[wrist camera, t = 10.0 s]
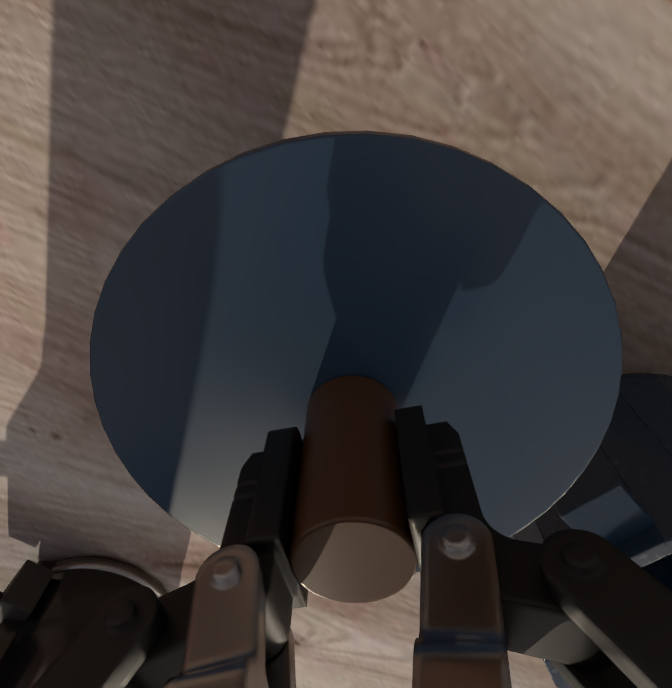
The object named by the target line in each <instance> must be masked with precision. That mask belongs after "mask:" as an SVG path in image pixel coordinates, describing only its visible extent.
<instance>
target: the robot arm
mask: <svg viewBox="0 0 672 688" xmlns="http://www.w3.org/2000/svg"><path fill="white" fill-rule="evenodd" d="M394 413H395V421H396V429H397V437H398V444H399V452H400V460H401V468H402V476H403V484H404V491H405V499H406V507H407V515H408V521H409V525H410V530H411V534H412V538H413V543H414V547H415V551H416V556H417V560H418V564H419V569H420V573H421V589H420V632H419V638H416V640H415V643H414V652H413V680H412V688H512V686H511V678H510V670H509V662H508V654H507V650H508V651H513V652H517V653H521V654H525V655H529V656H534V657H538V658H542V659H546V660H549V661H550V662H551V664H552V665H553V666H554V668H555V669H556V670H557V671H558V672H559V673H560V675H561V676H562V677H563V678H564V679H565V680H566V682H567V683H568V684H569V685H570V686H571V688H672V592H671V591H670V590H669V589H667V588H666V587H665V586H664V585H662V584H661V583H660V582H659V581H657V580H656V579H655V578H654V577H653V576H651V575H650V574H649V573H648V572H646V571H645V570H644V569H643V568H641V567H640V566H639V565H638V564H636V563H635V562H634V561H633V560H631V559H630V558H629V557H628V556H626V555H625V554H624V553H623V552H621V551H620V550H619V549H618V548H616V547H615V546H614V545H613V544H612V543H610V542H609V541H608V540H606V539H605V538H603V537H601V536H599V535H597V534H595V533H592V532H590V531H586V530H580V529H566V530H561V531H557V532H555V533H553V534H551V535H550V536H548V537H547V538H546V539H545V540H544V541H543V543H542V544H539V543H533V542H526V541H520V540H515V539H512V538H509V537H506V536H504V535H502V534H500V533H499V532H497V531H496V530H495V529H493V528H492V527H491V526H490V525H489V524H488V523H487V521H486V520H485V518H484V516H483V514H482V511H481V508H480V504H479V501H478V497H477V494H476V490H475V487H474V484H473V480H472V477H471V473H470V470H469V467H468V464H467V460H466V456H465V453H464V450H463V446H462V443H461V439H460V436H459V433H458V432H457V431H456V430H455V429H454V428H453V427H452V426H451V425H450V424H449V423H448V422H447V421H445V422H439V423H433V424H427V425H426V422H425V418H424V413H423V408H422V405H419V406H413V407H407V408H401V409H395V410H394ZM302 444H303V440H302V437H301V434H300V431H299V429H298V428H297V427H296V426H295V427H290V428H284V429H278V430H272V431H269V432H268V434H267V438H266V443H265V448H264V452H258V453H252V454H251V456H250V457H249V459H248V460H247V461H246V463H245V464H244V465H243V467H242V468H241V471H240V475H239V478H238V482H237V488H236V490H235V494H234V497H233V498H234V501H232V505H231V509H230V512H229V516H228V520H227V524H226V528H225V531H224V535H223V539H222V543H221V547H220V549H219V550H218V551H216V552H214V553H213V554H212V555H210V556H209V557H208V558H207V559H206V560H205V561H204V563H203V564H202V565H201V567H200V568H199V570H198V572H197V574H196V578H195V580H194V581H193V582H191V583H189V584H187V585H185V586H183V587H180V588H178V589H176V590H174V591H171V592H169V593H167V592H166V590H165V589H164V588H163V587H162V586H161V585H160V584H159V583H158V582H157V581H156V580H155V579H154V578H152V577H151V576H150V575H148V574H146V573H145V572H143V571H141V570H139V569H137V568H135V567H133V566H130V565H128V564H125V563H122V562H118V561H114V560H110V559H104V558H95V557H80V558H72V559H67V560H63V561H60V562H57V563H53V562H46V561H39V562H38V563H35V562H32V561H30V560H27V561H26V562H25V564H24V565H23V566H22V568H21V569H20V570H19V572H18V573H17V574H16V576H15V577H14V578H13V580H12V581H11V582H10V584H9V585H8V586H7V588H6V589H5V590H4V592H3V593H2V592H1V591H0V688H296V677H295V653H294V637H293V633H292V630H291V628H290V625H291V615H292V608H300V607H307V595H308V590H307V589H306V588H305V587H303V586H302V585H301V584H300V583H299V582H298V580H297V579H296V578H295V576H294V574H293V572H292V569H291V566H290V562H289V552H290V543H291V535H292V527H293V519H294V510H295V502H296V494H297V486H298V477H299V469H300V461H301V453H302Z"/></svg>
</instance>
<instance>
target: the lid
mask: <svg viewBox="0 0 672 688" xmlns="http://www.w3.org/2000/svg"><path fill="white" fill-rule="evenodd" d="M622 366H623V363H622V333H621V328H620V323H619V318H618V313H617V309H616V304H615V300H614V298H613V295H612V293H611V290H610V287H609V285H608V282H607V280H606V277H605V275H604V272H603V270H602V268H601V267H600V265H599V263H598V262H597V260H596V258H595V257H594V255H593V253H592V252H591V250H590V248H589V247H588V245H587V243H586V242H585V240H584V239H583V238H582V237H581V235H580V234H579V233H578V232H577V231H576V230H575V228H574V227H573V226H572V225H571V224H570V223H569V221H568V220H567V219H566V218H565V217H564V216H563V214H562V213H561V212H560V211H559V210H557V209H556V208H555V207H554V206H553V205H551V204H550V203H549V202H548V201H547V200H546V199H544V198H543V197H542V196H541V195H540V194H539V193H537V192H536V191H535V190H534V189H533V188H531V187H530V186H529V185H527V184H526V183H524V182H523V181H521V180H519V179H518V178H516V177H514V176H513V175H511V174H509V173H508V172H506V171H505V170H503V169H501V168H500V167H498V166H496V165H495V164H493V163H491V162H489V161H487V160H485V159H482V158H480V157H478V156H475V155H473V154H470V153H468V152H466V151H463V150H461V149H458V148H456V147H454V146H451V145H447V144H443V143H439V142H435V141H431V140H427V139H423V138H419V137H416V136H412V135H403V134H394V133H385V132H376V131H343V132H323V133H317V134H311V135H306V136H300V137H294V138H288V139H283V140H280V141H277V142H274V143H270V144H267V145H264V146H261V147H258V148H255V149H252V150H249V151H246V152H243V153H241V154H239V155H237V156H235V157H233V158H231V159H229V160H227V161H225V162H223V163H221V164H219V165H217V166H215V167H213V168H211V169H209V170H207V171H205V172H204V173H202V174H201V175H200V176H198V177H197V178H195V179H194V180H192V181H191V182H190V183H188V184H187V185H185V186H184V187H183V188H181V189H180V190H178V191H177V192H175V193H174V194H173V195H171V196H170V197H169V198H168V199H167V200H166V201H165V202H164V203H163V204H162V205H160V206H159V207H158V208H157V209H156V210H155V211H154V212H153V213H152V214H151V215H150V216H149V217H148V218H147V219H146V220H145V221H144V222H143V223H142V224H141V225H140V226H139V228H138V229H137V230H136V232H135V233H134V234H133V236H132V237H131V238H130V240H129V241H128V242H127V244H126V245H125V246H124V248H123V249H122V250H121V252H120V253H119V255H118V257H117V259H116V261H115V263H114V265H113V267H112V269H111V271H110V273H109V274H108V276H107V278H106V280H105V282H104V285H103V288H102V291H101V294H100V297H99V300H98V303H97V307H96V310H95V313H94V319H93V326H92V332H91V339H90V375H91V381H92V387H93V393H94V399H95V403H96V406H97V409H98V412H99V415H100V419H101V422H102V425H103V428H104V430H105V432H106V434H107V436H108V438H109V440H110V442H111V444H112V446H113V448H114V450H115V452H116V454H117V455H118V457H119V458H120V460H121V461H122V463H123V464H124V466H125V467H126V469H127V470H128V472H129V473H130V475H131V476H132V477H133V478H134V480H135V481H136V482H137V483H138V484H139V485H140V487H141V488H142V489H143V490H144V491H145V492H146V493H147V495H148V496H149V497H150V498H151V499H153V500H154V501H155V502H156V503H157V504H158V505H159V506H160V507H161V508H162V509H163V510H165V511H166V512H167V513H168V514H169V515H170V516H172V517H173V518H174V519H176V520H177V521H178V522H180V523H181V524H183V525H184V526H185V527H187V528H188V529H189V530H191V531H193V532H194V533H196V534H198V535H199V536H201V537H203V538H204V539H206V540H208V541H209V542H211V543H213V544H215V545H217V546H219V547H221V543H222V539H223V535H224V531H225V528H226V524H227V520H228V516H229V512H230V509H231V505H232V501H234V498H233V497H234V494H235V490H236V488H237V482H238V478H239V475H240V471H241V468H242V467H243V465H244V464H245V463H246V461H247V460H248V459H249V457H250V456H251V454H252V453H258V452H264V448H265V443H266V438H267V434H268V432H269V431H272V430H278V429H284V428H290V427H295V426H296V427H297V428H298V429H299V431H300V434H301V437H302V440H303V444H302V453H301V461H300V469H299V477H298V486H297V494H296V502H295V510H294V519H293V527H292V535H291V543H290V552H289V562H290V566H291V569H292V572H293V574H294V576H295V578H296V579H297V580H298V582H299V583H300V584H301V585H302V586H303V587H305V588H306V589H307V590H309V591H310V592H312V593H314V594H316V595H318V596H320V597H322V598H325V599H328V600H332V601H337V602H343V603H367V602H373V601H377V600H381V599H384V598H387V597H389V596H391V595H393V594H395V593H397V592H399V591H400V590H401V589H403V588H404V587H405V586H406V585H407V584H408V583H409V582H410V581H411V580H412V578H413V577H414V575H415V572H418V571H420V569H419V564H418V560H417V556H416V551H415V547H414V543H413V538H412V534H411V530H410V525H409V521H408V515H407V507H406V499H405V491H404V484H403V476H402V468H401V460H400V452H399V444H398V437H397V429H396V421H395V413H394V410H395V409H401V408H407V407H413V406H419V405H422V408H423V413H424V418H425V422H426V425H427V424H433V423H439V422H445V421H447V422H448V423H449V424H450V425H451V426H452V427H453V428H454V429H455V430H456V431H457V432H458V433H459V436H460V439H461V443H462V446H463V450H464V453H465V456H466V460H467V464H468V467H469V470H470V473H471V477H472V480H473V484H474V487H475V490H476V494H477V497H478V501H479V504H480V508H481V511H482V514H483V516H484V518H485V520H486V521H487V523H488V524H489V525H490V526H491V527H492V528H493V529H495V530H496V531H497V532H499V533H500V534H502V535H504V536H506V537H510V536H512V535H513V534H515V533H517V532H518V531H520V530H522V529H523V528H525V527H526V526H527V525H529V524H530V523H531V522H533V521H534V520H535V519H537V518H538V517H539V516H541V515H542V514H543V513H545V512H546V511H547V510H548V509H549V508H550V507H551V506H552V505H553V504H554V503H555V502H557V501H558V500H559V499H560V498H561V497H562V496H563V495H564V494H565V493H566V492H567V491H568V489H569V488H570V487H571V486H572V485H573V484H574V482H575V481H576V480H577V479H578V478H579V476H580V475H581V474H582V473H583V472H584V470H585V468H586V467H587V465H588V464H589V462H590V461H591V459H592V458H593V456H594V454H595V453H596V451H597V450H598V448H599V446H600V444H601V442H602V440H603V437H604V435H605V433H606V431H607V429H608V427H609V424H610V422H611V419H612V415H613V412H614V409H615V405H616V402H617V398H618V395H619V388H620V381H621V373H622Z"/></svg>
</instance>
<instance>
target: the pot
mask: <svg viewBox="0 0 672 688" xmlns="http://www.w3.org/2000/svg"><path fill="white" fill-rule="evenodd" d="M566 529H580V530H586V531H590V532H592V533H595V534H597V535H599V536H601V537H603V538H605V539H606V540H608V541H609V542H610V543H612V544H613V545H614V546H615V547H616V548H618V549H619V550H620V551H621V552H623V553H624V554H625V555H626V556H628V557H629V558H630V559H631V560H633V561H634V562H635V563H636V564H638V565H639V566H640V567H641V568H643V569H644V570H645V571H646V572H648V573H649V574H650V575H651V576H653V577H654V578H655V579H656V580H657V581H659V582H660V583H661V584H662V585H664V586H665V587H666V588H667V589H669V590H670V591H671V592H672V376H667V375H658V374H627V375H621V381H620V388H619V395H618V398H617V402H616V405H615V409H614V412H613V415H612V419H611V422H610V424H609V427H608V429H607V431H606V433H605V435H604V437H603V440H602V442H601V444H600V446H599V448H598V450H597V451H596V453H595V454H594V456H593V458H592V459H591V461H590V462H589V464H588V465H587V467H586V468H585V470H584V472H583V473H582V474H581V475H580V476H579V478H578V479H577V480H576V481H575V482H574V484H573V485H572V486H571V487H570V488H569V489H568V491H567V492H566V493H565V494H564V495H563V496H562V497H561V498H560V499H559V500H558V501H557V502H555V503H554V504H553V505H552V506H551V507H550V508H549V509H548V510H547V511H546V512H545V513H543V514H542V515H541V516H539V517H538V518H537V519H535V520H534V521H533V522H531V523H530V524H529V525H527V526H526V527H525V528H523V529H522V530H520V531H518V532H517V533H515V534H513V535H512V536H510V537H509V538H512V539H515V540H520V541H526V542H533V543H539V544H542V543H543V541H544V540H545V539H546V538H547V537H548V536H550V535H551V534H553V533H555V532H557V531H561V530H566ZM543 661H544V663H545V665H546V667H547V669H548V671H549V673H550V675H551V678H552V680H553V682H554V684H555V685H556V687H558V688H571V686H570V685H569V684H568V683H567V682H566V680H565V679H564V678H563V677H562V676H561V675H560V673H559V672H558V671H557V670H556V669H555V668H554V666H553V665H552V664H551V662H550V661H549V660H546V659H543Z"/></svg>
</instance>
